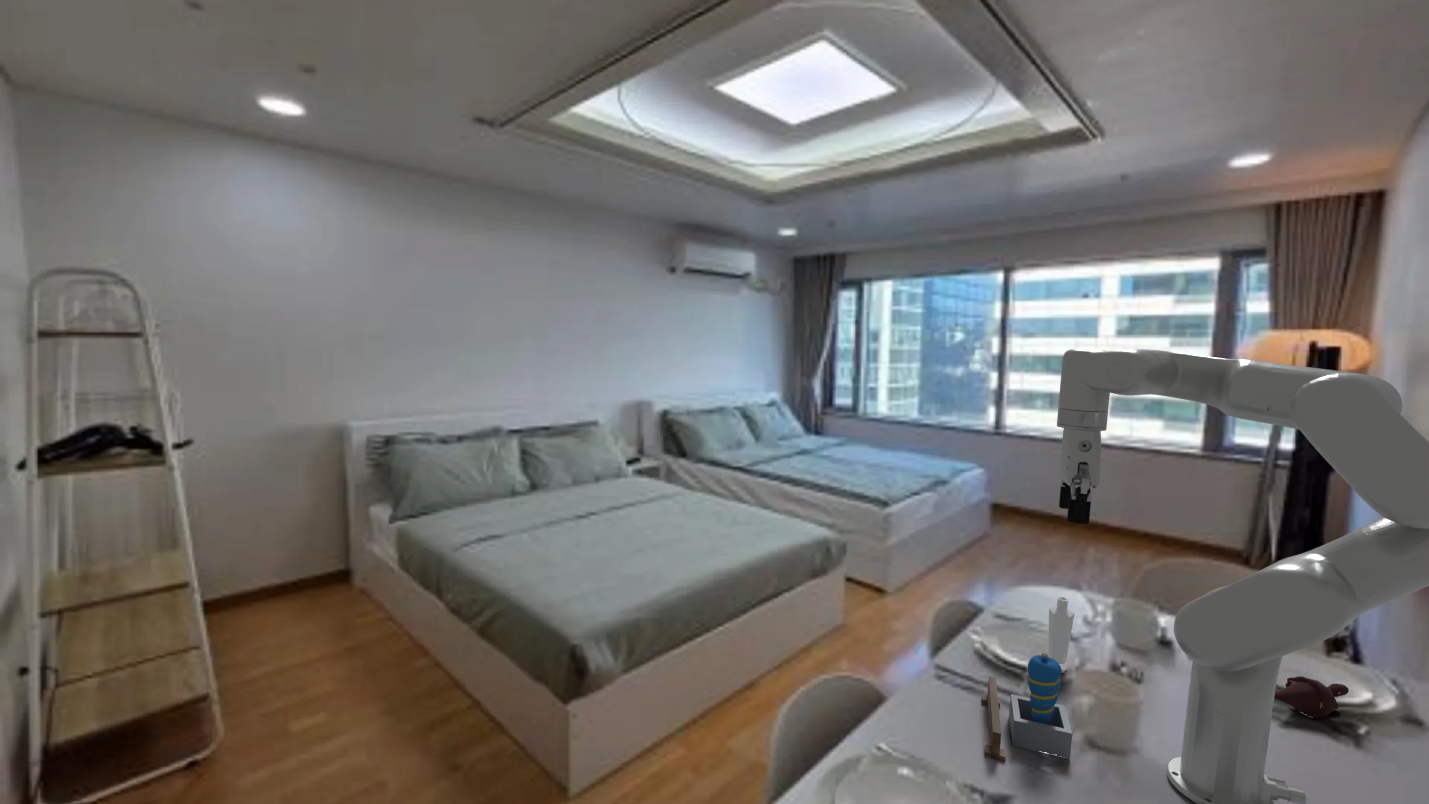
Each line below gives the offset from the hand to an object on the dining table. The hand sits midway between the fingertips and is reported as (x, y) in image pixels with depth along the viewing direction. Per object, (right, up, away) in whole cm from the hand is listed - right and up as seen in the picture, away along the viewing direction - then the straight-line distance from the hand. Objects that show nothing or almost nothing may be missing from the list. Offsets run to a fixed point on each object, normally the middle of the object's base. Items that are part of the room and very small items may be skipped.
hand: (1073, 515), depth 110 cm
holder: (-9, -37, -5) cm, 38 cm away
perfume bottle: (+7, -35, +18) cm, 40 cm away
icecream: (+46, -38, +5) cm, 59 cm away
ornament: (-9, -36, -5) cm, 38 cm away
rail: (-15, -36, -2) cm, 39 cm away
